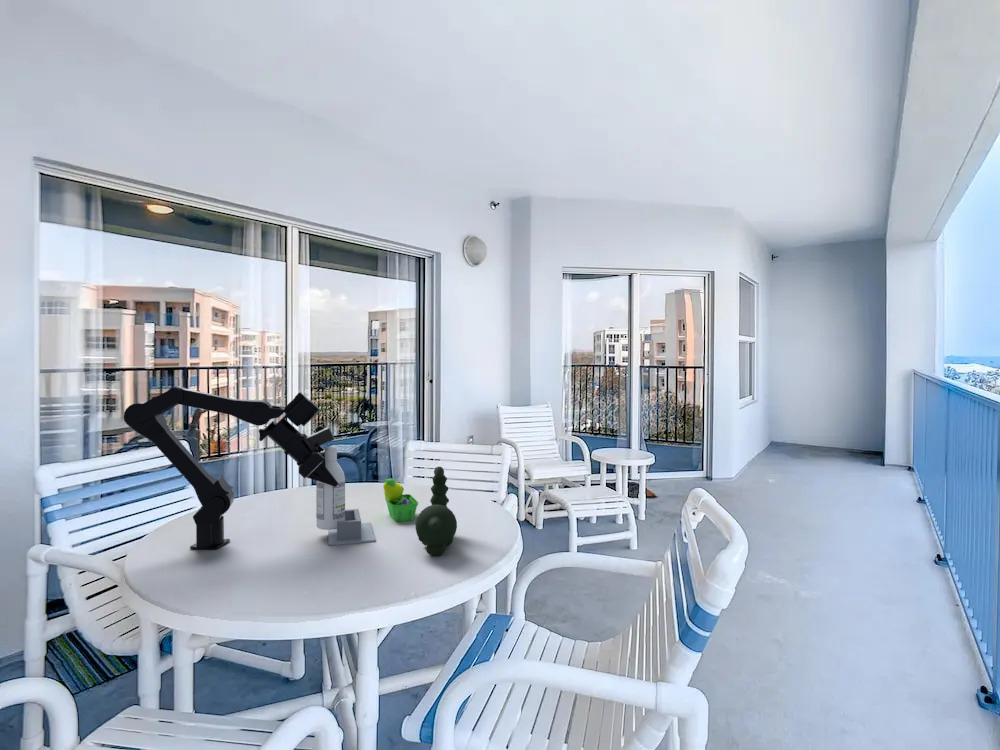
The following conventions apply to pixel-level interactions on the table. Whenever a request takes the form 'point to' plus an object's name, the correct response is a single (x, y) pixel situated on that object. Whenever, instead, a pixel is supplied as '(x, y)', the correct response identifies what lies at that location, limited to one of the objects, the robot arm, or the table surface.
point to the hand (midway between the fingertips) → (336, 482)
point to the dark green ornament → (437, 518)
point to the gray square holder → (351, 530)
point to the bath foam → (330, 494)
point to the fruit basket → (399, 501)
